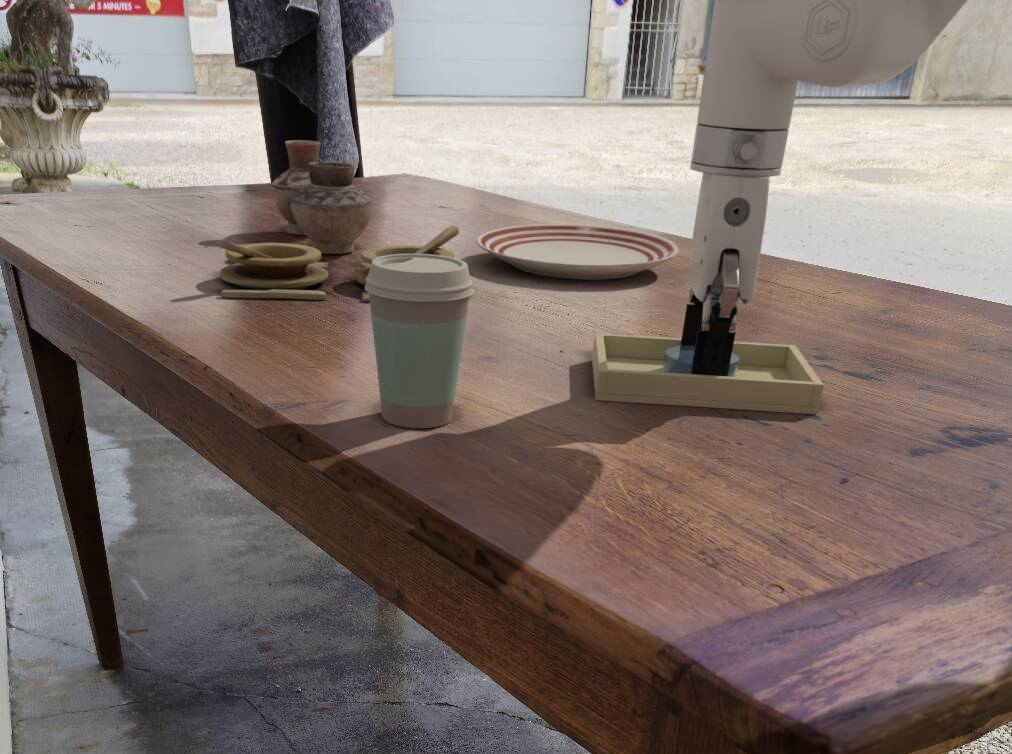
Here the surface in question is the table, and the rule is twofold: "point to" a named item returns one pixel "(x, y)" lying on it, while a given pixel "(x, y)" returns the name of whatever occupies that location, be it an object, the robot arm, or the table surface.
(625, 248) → the dinner plate
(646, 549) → the table surface
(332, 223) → the pottery
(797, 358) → the serving tray
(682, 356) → the blue-grey disc
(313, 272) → the tableware set
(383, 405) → the coffee cup
